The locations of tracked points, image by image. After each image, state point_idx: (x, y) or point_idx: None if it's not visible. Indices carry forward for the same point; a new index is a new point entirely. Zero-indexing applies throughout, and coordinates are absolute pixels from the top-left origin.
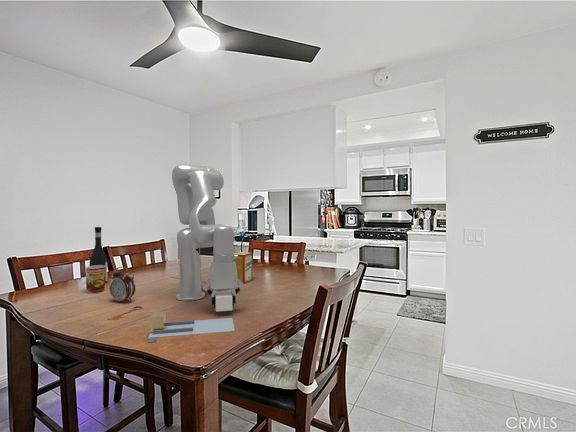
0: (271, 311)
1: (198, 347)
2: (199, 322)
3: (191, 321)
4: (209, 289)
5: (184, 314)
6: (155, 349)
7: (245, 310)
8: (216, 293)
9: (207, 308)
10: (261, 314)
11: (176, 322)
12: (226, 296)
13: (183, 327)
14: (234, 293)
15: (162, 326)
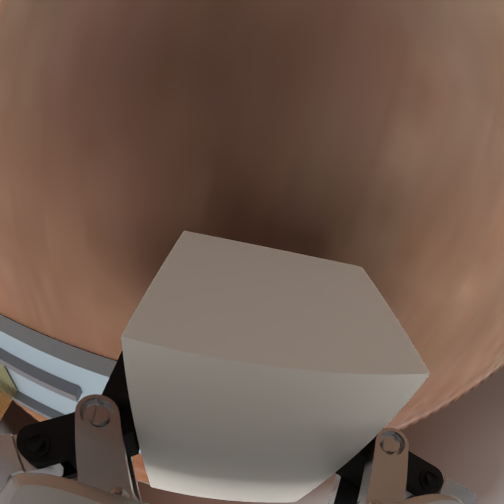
0: (495, 314)
1: (134, 458)
2: (100, 392)
3: (67, 396)
4: (47, 472)
5: (9, 165)
6: (43, 419)
7: (431, 248)
8: (148, 431)
9: (155, 57)
10: (446, 340)
11: (19, 373)
12: (250, 497)
13: (56, 396)
14: (352, 482)
15: (8, 400)
